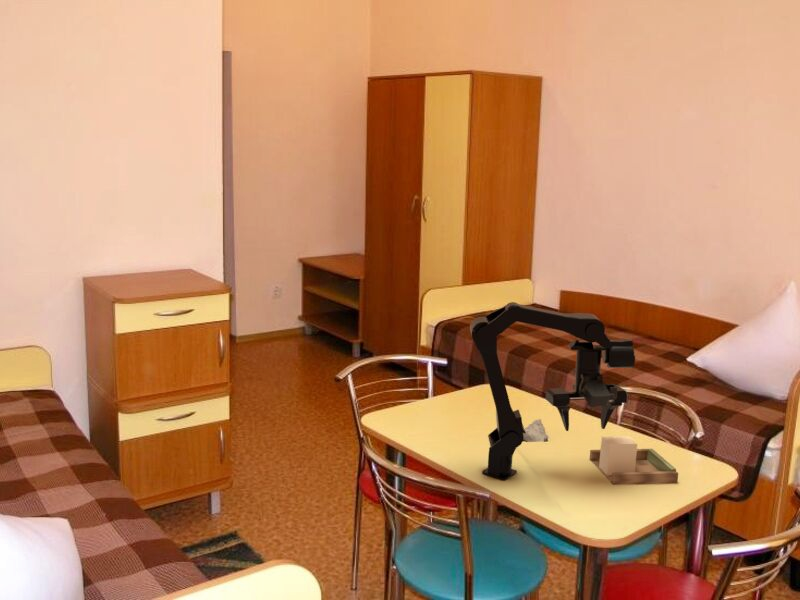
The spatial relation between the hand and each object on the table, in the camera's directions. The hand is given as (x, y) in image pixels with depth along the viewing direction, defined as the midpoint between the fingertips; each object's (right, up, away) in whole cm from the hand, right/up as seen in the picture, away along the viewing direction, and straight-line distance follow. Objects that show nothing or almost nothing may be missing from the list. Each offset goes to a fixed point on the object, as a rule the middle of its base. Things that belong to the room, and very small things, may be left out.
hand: (584, 429), depth 189 cm
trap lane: (+12, -12, +4) cm, 18 cm away
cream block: (+8, -11, +3) cm, 14 cm away
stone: (-7, -7, +27) cm, 29 cm away
